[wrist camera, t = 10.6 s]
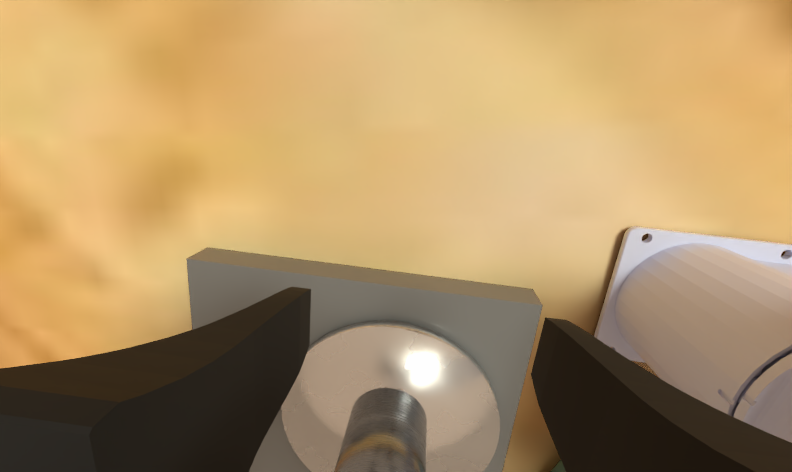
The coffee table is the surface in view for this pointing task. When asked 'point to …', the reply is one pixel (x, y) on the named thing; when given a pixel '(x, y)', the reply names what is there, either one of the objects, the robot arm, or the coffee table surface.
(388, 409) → the cylinder
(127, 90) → the coffee table surface
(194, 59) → the coffee table surface
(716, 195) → the coffee table surface
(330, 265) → the scale base
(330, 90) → the coffee table surface
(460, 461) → the scale pan
